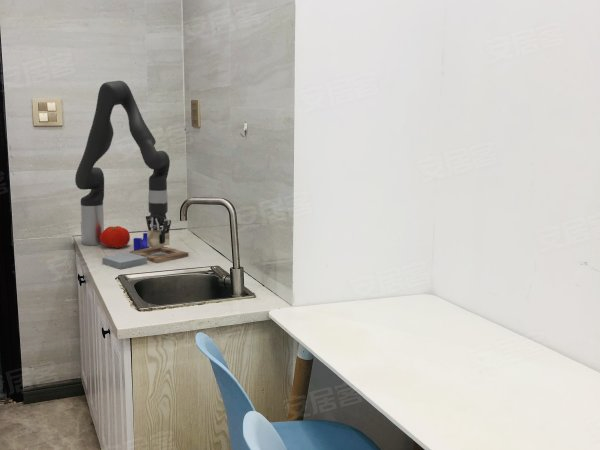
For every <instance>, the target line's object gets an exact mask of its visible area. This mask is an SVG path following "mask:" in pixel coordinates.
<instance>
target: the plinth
mask: <svg viewBox="0 0 600 450" xmlns="http://www.w3.org/2000/svg"><path fill="white" fill-rule="evenodd" d="M101 261H102V265H106V266H109V267H113V268H115V269H118V270H124V269H129V268H133V267H137V266H142V265H143V266H144V265H147V264H148V261H147V257H144V256H140V255H137V254H133V253H130V251H128V252H124V253H123V252H122V253H117V254H112V255H108V256H102V257H101Z"/></svg>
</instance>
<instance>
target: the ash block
mask: <svg viewBox="0 0 600 450" xmlns="http://www.w3.org/2000/svg"><path fill="white" fill-rule="evenodd" d="M162 231H163V229H162ZM146 233H147V246H149V248H151V247H152V248H156V247H161V246H164V247H167V246H169V245H170V232H169V233H167V234H165V243H163V244H160V243H159V235H160V234H159V229H158V230H154V231H150V230H148V231H147V232H146Z"/></svg>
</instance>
